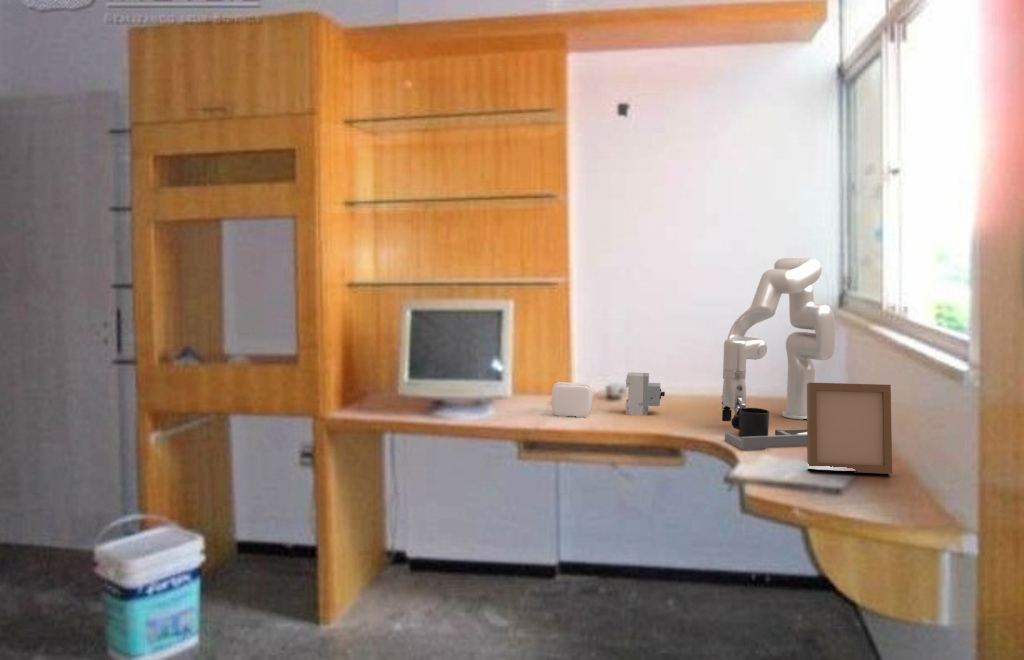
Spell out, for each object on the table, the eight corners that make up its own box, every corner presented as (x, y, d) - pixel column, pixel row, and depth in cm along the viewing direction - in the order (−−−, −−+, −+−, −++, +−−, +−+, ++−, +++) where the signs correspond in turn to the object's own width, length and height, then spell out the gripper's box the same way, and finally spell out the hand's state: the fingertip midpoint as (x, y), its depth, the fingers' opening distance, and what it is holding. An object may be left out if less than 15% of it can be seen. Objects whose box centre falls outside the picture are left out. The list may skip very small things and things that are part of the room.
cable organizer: (549, 416, 317) (549, 385, 315) (553, 411, 327) (553, 381, 326) (589, 418, 314) (589, 387, 312) (592, 412, 324) (593, 382, 323)
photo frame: (892, 477, 235) (895, 387, 233) (809, 473, 239) (812, 385, 237) (879, 464, 249) (882, 380, 247) (801, 461, 253) (804, 377, 251)
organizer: (812, 436, 284) (813, 425, 283) (834, 446, 271) (835, 434, 270) (724, 440, 278) (725, 428, 278) (742, 450, 265) (743, 437, 265)
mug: (730, 432, 289) (731, 406, 288) (766, 435, 286) (768, 408, 285) (731, 439, 280) (732, 412, 279) (769, 441, 277) (770, 414, 276)
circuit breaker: (663, 416, 317) (664, 376, 315) (625, 414, 320) (626, 375, 318) (664, 412, 324) (665, 373, 323) (626, 410, 327) (627, 372, 326)
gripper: (755, 378, 284) (753, 428, 286) (734, 371, 301) (732, 418, 303) (734, 378, 283) (732, 429, 285) (713, 371, 300) (712, 419, 302)
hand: (732, 423), depth 294 cm, fingers open, 9 cm apart
